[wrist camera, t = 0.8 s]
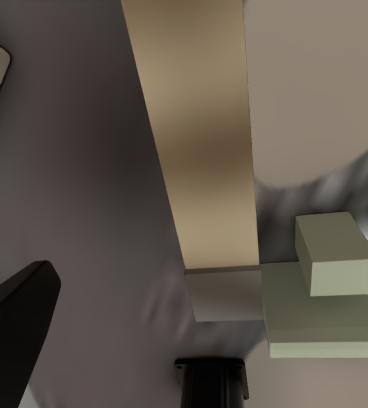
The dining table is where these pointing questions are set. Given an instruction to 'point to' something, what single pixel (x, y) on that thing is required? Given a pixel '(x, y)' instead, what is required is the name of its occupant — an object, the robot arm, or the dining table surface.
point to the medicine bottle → (3, 63)
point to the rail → (203, 145)
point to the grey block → (319, 291)
